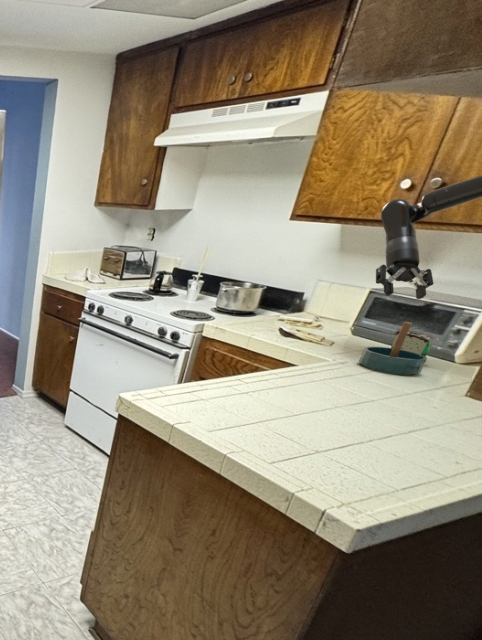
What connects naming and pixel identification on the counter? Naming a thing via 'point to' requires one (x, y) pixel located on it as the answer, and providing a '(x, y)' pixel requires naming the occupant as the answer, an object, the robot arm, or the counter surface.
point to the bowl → (392, 361)
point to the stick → (400, 339)
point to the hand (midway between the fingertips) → (405, 296)
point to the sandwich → (416, 342)
